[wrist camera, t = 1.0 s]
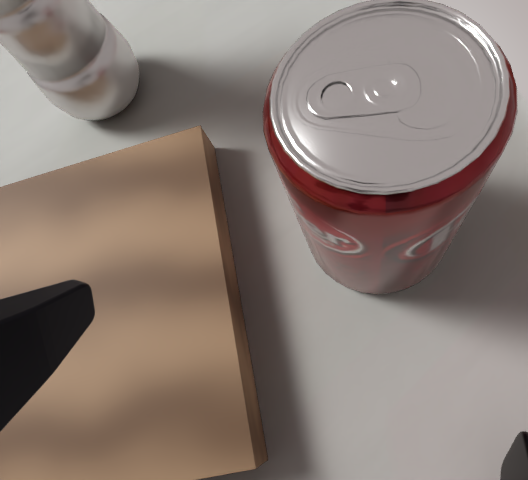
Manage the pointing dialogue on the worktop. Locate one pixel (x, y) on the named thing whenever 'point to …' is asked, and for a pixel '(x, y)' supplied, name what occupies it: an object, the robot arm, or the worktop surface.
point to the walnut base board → (134, 320)
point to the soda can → (387, 135)
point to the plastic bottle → (71, 55)
